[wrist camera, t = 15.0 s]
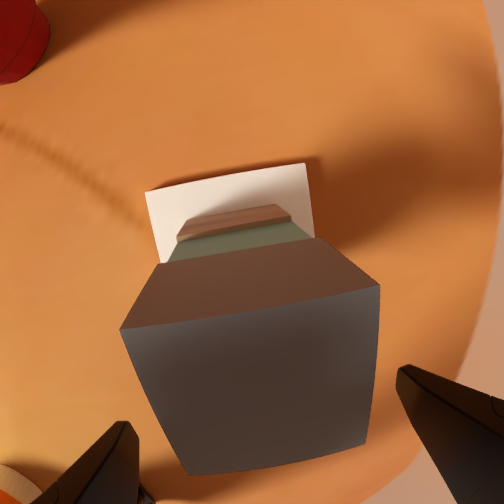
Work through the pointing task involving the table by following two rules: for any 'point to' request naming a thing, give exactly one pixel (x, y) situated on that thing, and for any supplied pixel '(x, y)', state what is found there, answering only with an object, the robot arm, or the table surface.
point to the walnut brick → (232, 222)
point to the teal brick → (238, 241)
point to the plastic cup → (21, 38)
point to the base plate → (229, 200)
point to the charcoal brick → (257, 354)
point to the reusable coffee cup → (16, 487)
